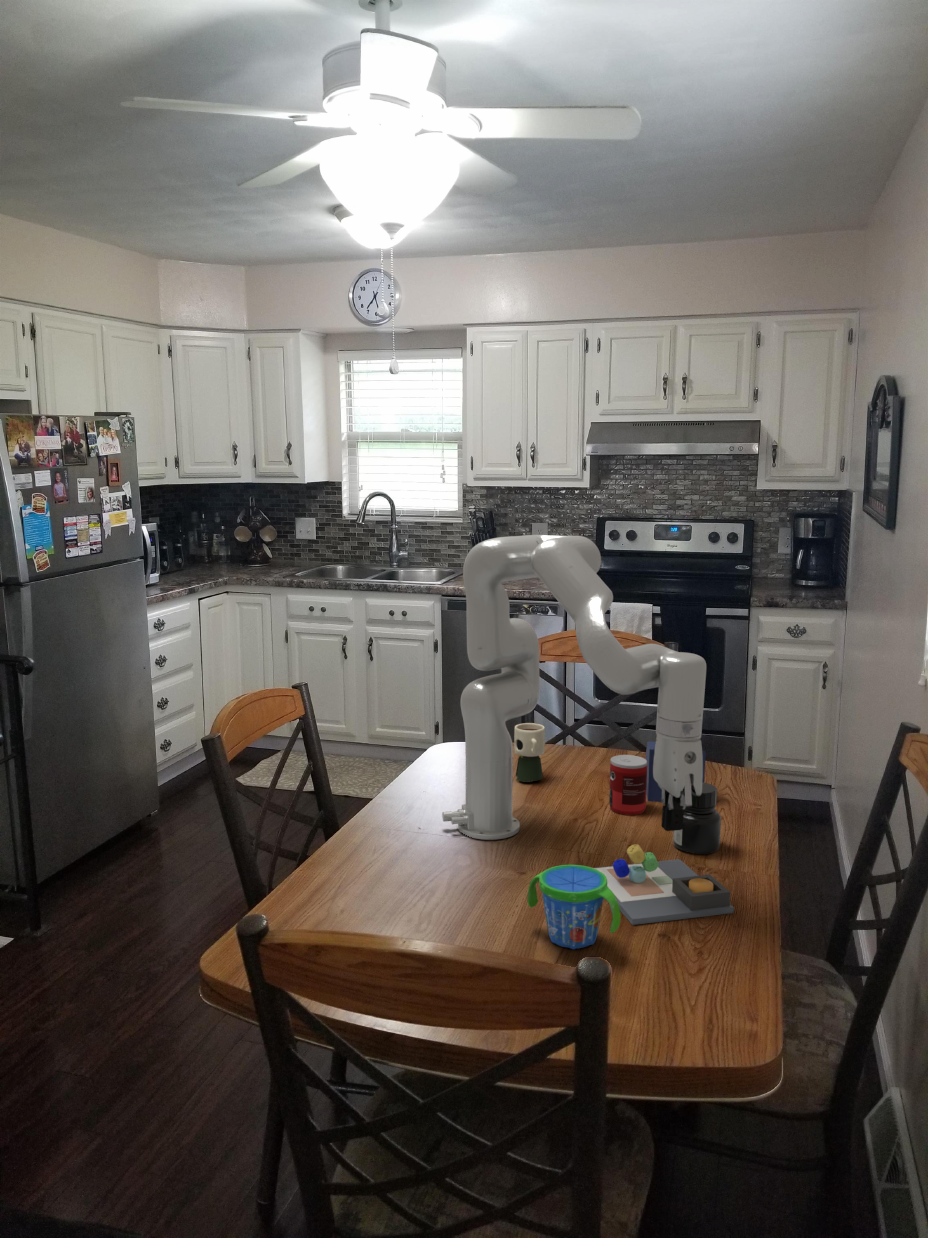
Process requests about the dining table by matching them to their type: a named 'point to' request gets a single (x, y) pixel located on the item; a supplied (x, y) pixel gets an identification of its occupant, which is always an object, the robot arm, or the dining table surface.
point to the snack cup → (574, 903)
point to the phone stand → (652, 786)
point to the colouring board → (666, 894)
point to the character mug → (529, 751)
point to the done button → (700, 885)
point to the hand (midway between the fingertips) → (671, 828)
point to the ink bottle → (700, 824)
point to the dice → (636, 857)
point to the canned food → (628, 784)
